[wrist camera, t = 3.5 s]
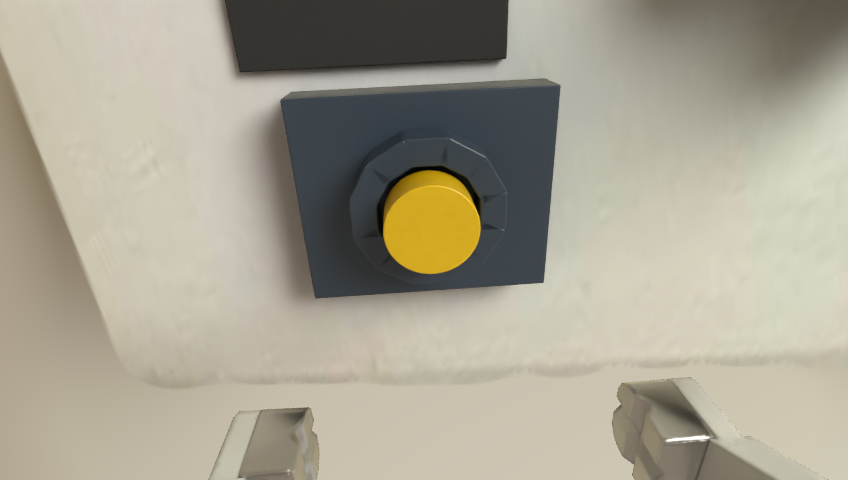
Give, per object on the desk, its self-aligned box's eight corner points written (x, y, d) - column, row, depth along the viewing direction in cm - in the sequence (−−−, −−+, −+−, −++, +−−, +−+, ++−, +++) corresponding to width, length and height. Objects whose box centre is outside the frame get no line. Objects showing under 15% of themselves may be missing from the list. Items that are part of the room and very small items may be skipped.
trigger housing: (320, 277, 26) (309, 319, 22) (290, 91, 21) (269, 107, 18) (532, 262, 26) (554, 302, 23) (545, 78, 22) (576, 90, 18)
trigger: (387, 255, 21) (386, 277, 19) (380, 172, 20) (378, 188, 18) (472, 249, 21) (480, 271, 20) (473, 166, 20) (481, 182, 18)
